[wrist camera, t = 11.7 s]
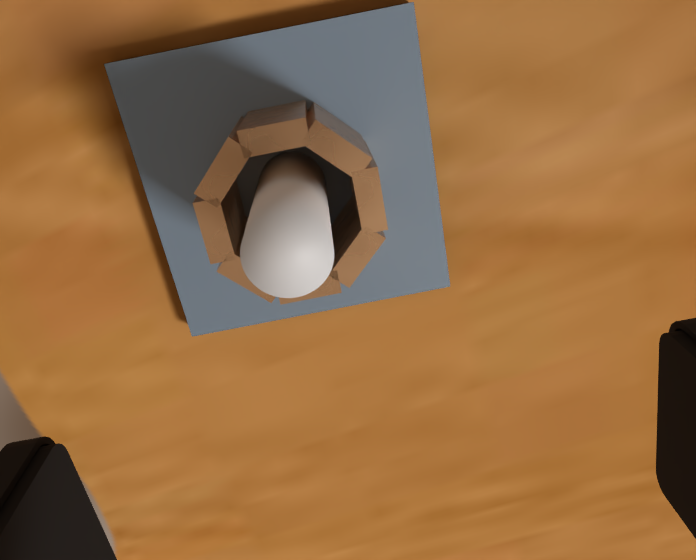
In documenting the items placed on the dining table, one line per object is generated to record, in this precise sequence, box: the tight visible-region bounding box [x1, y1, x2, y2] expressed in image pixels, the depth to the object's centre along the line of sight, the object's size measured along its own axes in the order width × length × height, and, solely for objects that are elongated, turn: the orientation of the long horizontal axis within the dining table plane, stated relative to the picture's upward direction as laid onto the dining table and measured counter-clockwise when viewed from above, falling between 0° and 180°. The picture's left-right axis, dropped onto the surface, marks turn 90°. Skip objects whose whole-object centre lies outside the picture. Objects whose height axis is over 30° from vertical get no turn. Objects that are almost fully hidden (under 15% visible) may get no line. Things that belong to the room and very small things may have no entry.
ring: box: [193, 100, 388, 305], centre depth 26 cm, size 7×7×5 cm
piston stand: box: [104, 2, 450, 336], centre depth 24 cm, size 13×13×10 cm
